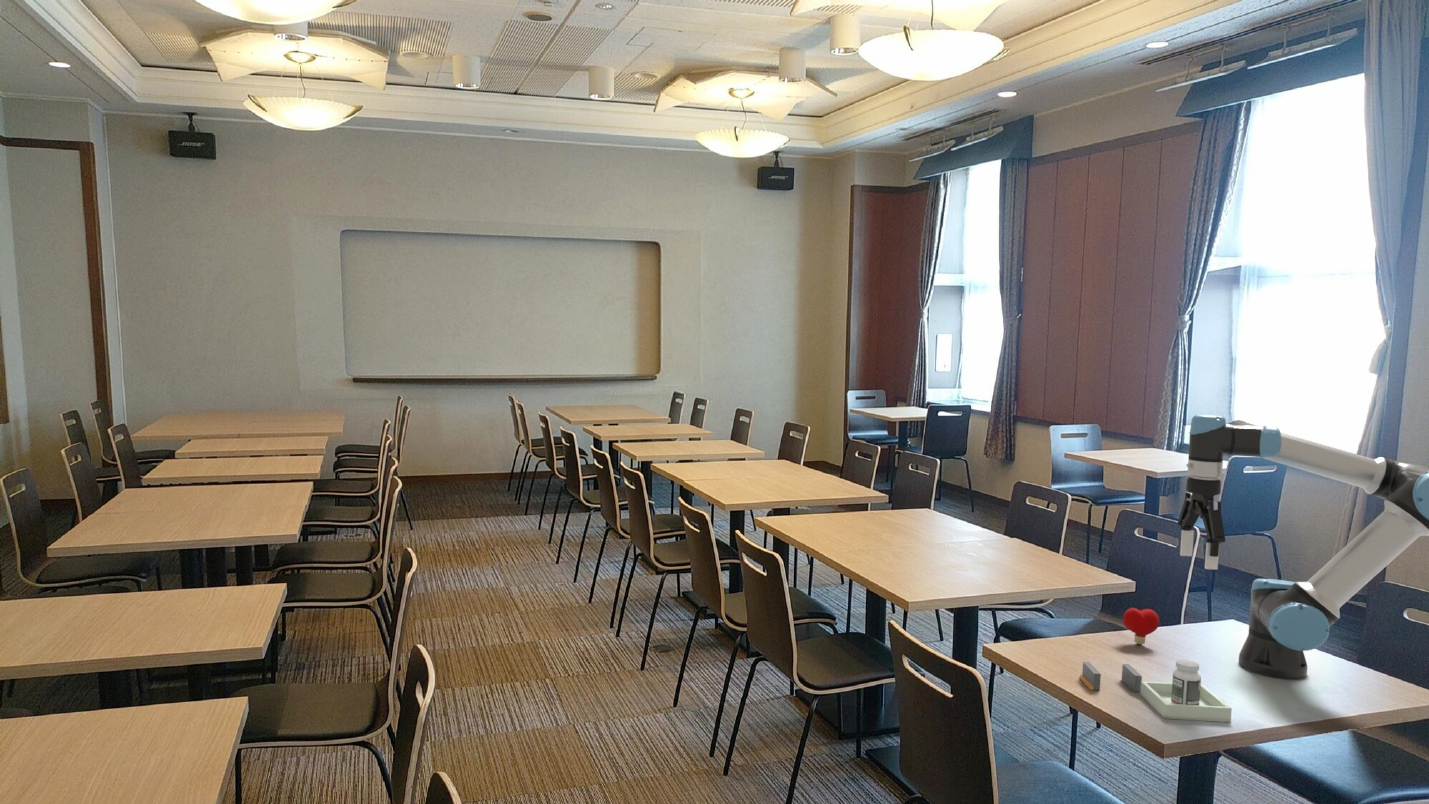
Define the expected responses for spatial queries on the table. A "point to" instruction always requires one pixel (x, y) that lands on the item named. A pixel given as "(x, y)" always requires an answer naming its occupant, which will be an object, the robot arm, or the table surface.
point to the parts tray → (1205, 711)
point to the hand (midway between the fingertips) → (1198, 562)
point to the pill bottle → (1186, 683)
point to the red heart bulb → (1141, 623)
